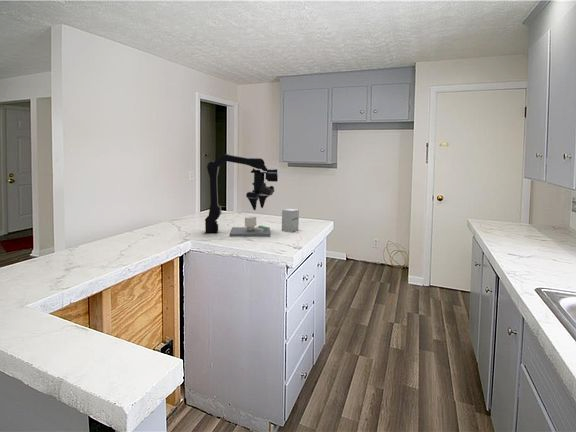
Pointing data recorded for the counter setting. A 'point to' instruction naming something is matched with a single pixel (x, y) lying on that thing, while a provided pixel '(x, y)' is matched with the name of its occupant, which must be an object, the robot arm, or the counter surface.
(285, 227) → the supplement box
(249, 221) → the tuning peg
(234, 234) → the dial plate
